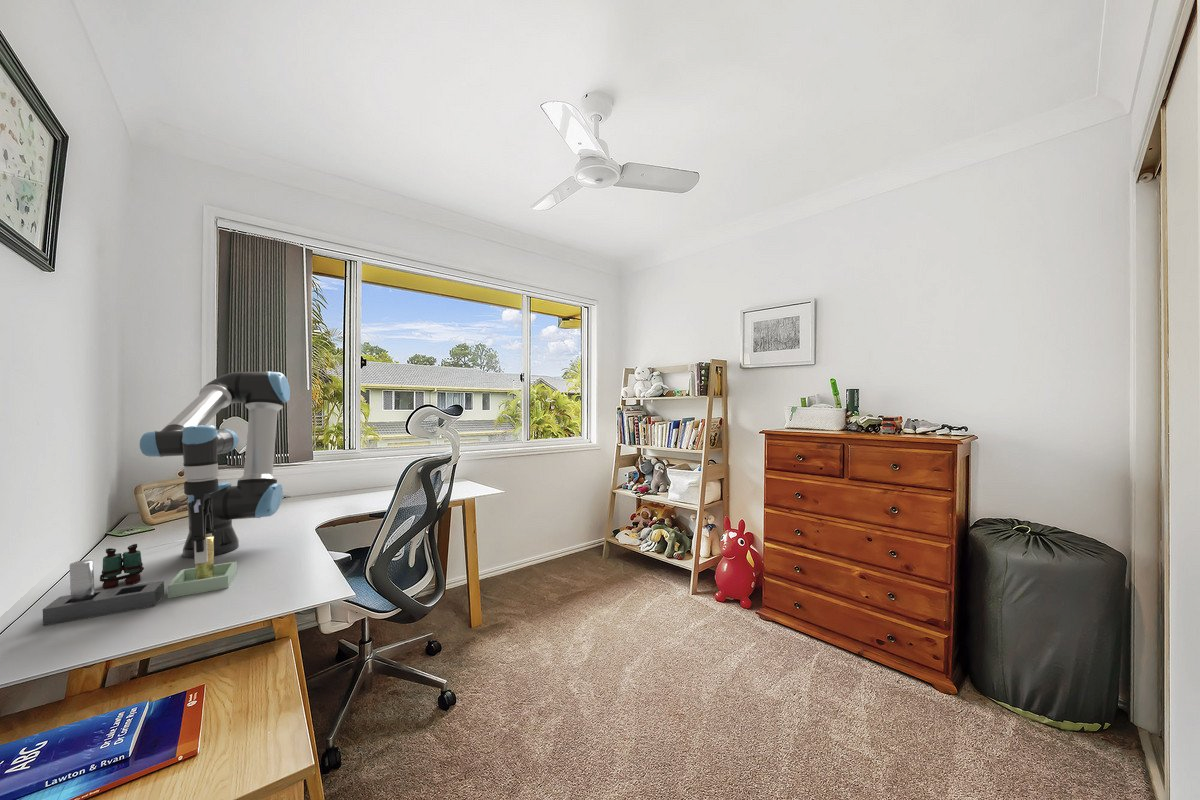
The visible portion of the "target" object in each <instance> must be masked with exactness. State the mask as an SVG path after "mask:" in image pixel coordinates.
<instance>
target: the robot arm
mask: <svg viewBox="0 0 1200 800" xmlns="http://www.w3.org/2000/svg"><path fill="white" fill-rule="evenodd" d="M198 394H199V395H198V396H197V397H196V398H195V399H194V400H192V402H190V403H189V404H188V405H187V406H186V407H185V408H184V409H183V410H182V411H181V412H179V414H177V415H176V416H175V417H174V418H173V419H172V420H171V421H170V422H168V424H166V426H164V428H162V429H161V430H160V431H157V430H154V431H147V432H145V433H143V434H142V435H141V437H140V440H139V449H140V452H141V453H142V454H143V456H146V457H150V458H151V457H153V458H155V457H156V458H157V457H159V458H165V457H179V456H182V457H183V458H182V460H183V463H182V464H183V465H182V466H183V468H181V470H180V472H181V473H183V479H184V482H183V490H184V495H186V496H187V502H186V503H187V512H188V514H187V515H188V533H187V536H186V540H185V541H184V545H183V547H182V557H184V558H188V559H190V558H191V559H193V558H194V564H195V565H196V564H198V563H204V562H208V554H207V539H206V536H207V535H212V536H214V556H217V555H221V554H225V553H228V552H231V551H234V550H235V549H238V548H239V546H240V542H239V541H240V540H239V537H238V536H237V535H238V534H237V533H236V531H235V529H234V526H233V520H244V519H261V518H266V517H272V516H274V515H275V514H276V513H277V512H278V510H279V509H280V506H281V503H282V500H283V495H284V491H283V486H282V484H281V483H278V478H277V477H276V476H274V474H273V472H274V460H275V449H276V448H275V447H276V439H277V438H276V436H277V425H278V424H277V423H278V422H277V421H278V412H279V411H281V410H282V409H284V404H286V403H287V402H289V401H290V399H291V388H290V384H289V381H288V379H287V377H286V376H285V374H283V373H282V372H279V371H278V372H277V371H268V370H267V371H234V372H229V373H226V374H223V375H221V376H218V377H216V378H214V379H213V380H211V381H209V382H208V383H207V384H205V385H204V386H203V387H202V388H201V389H200V391H199V393H198ZM239 403H242V404H244V406H245V408H247V409H248V411H249V412H248V413H249V414H248V415H249V416H248V426H247V434H246V445H245V454H244V466H243V475H242V476H241V477H240V478H238V479H237V481H236V482H237V484H236V485H232V483H231V482H230V481H222V482H219V479H218V478H217V477H218V476H219V463H218V455H221V454H227V453H229V452H231V451H233V450H235V449H236V448H237V446H238V445H239V437H238V434H237V433H236V432H235V431H233V430H231V429H227V428H217V427H216V426H215V425H211V424H210V425H209V422H210V421H211V420H212V419H213V418H214V417H215V416H216V415H217V414H218V413H219V412H220V411H221V410H222V409H225V408H227V407H228V406H230V405H231V404H239Z"/></svg>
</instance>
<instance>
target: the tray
mask: <svg viewBox="0 0 1200 800" xmlns="http://www.w3.org/2000/svg"><path fill="white" fill-rule="evenodd" d="M237 567H238V562H237V561H230V562H224V563H218V564H214V577H211V578H205V579H199V580H196V567H191V568H186V569H181V570H179V572H178V573H177V574H176V575H175V576H174V578H172V580H171V581H170V582H169V583H168V584H167V585H166V587H167V599H172V598H177V597H182V596H188V595H193V594H194V595H195V594H200V593H206V592H210V591H211V592H212V591H216V590H217V591H219V590H224V589H228V588H229V587H230V586H231V584H232V582H233V581H234V578H235V577H236V575H237V572H238V568H237Z"/></svg>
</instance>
